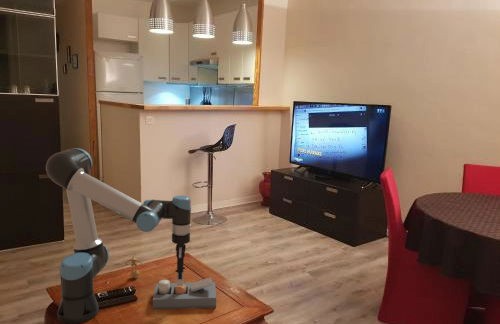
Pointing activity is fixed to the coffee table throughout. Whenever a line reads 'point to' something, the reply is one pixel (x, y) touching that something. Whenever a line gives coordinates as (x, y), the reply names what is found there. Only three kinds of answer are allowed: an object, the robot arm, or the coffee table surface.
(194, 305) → the grey slotted block
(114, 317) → the coffee table surface
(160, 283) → the button left
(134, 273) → the figurine
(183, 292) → the button right
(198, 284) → the block
